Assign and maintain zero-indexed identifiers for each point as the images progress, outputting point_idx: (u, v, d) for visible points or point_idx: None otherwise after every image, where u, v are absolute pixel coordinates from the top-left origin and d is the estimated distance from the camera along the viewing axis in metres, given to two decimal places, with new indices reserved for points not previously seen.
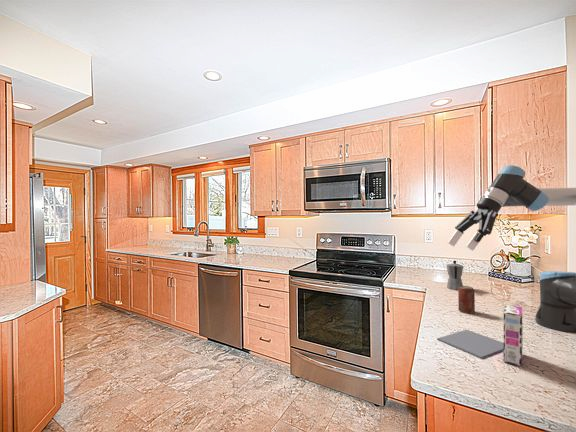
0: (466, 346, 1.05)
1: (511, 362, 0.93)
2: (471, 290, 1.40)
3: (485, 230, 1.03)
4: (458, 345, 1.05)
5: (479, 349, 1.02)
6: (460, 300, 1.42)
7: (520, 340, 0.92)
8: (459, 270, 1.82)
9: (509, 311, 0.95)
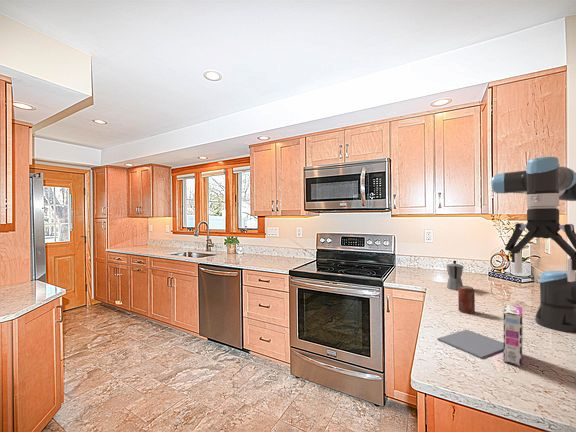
0: (466, 346, 1.05)
1: (511, 362, 0.93)
2: (471, 290, 1.40)
3: None
4: (458, 345, 1.05)
5: (479, 349, 1.02)
6: (460, 300, 1.42)
7: (520, 340, 0.92)
8: (459, 270, 1.82)
9: (509, 311, 0.95)
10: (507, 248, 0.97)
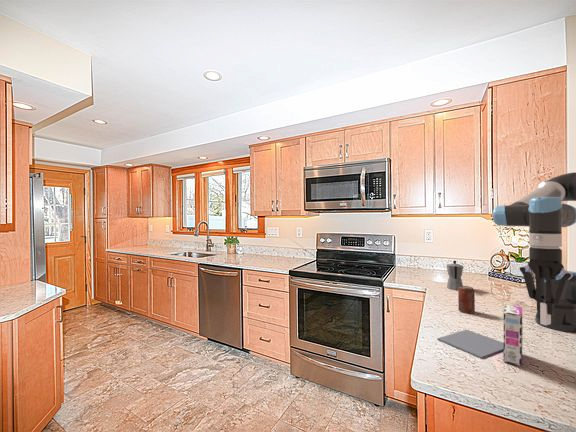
0: (466, 346, 1.05)
1: (511, 362, 0.93)
2: (471, 290, 1.40)
3: (558, 302, 0.85)
4: (458, 345, 1.05)
5: (479, 349, 1.02)
6: (460, 300, 1.42)
7: (520, 340, 0.92)
8: (459, 270, 1.82)
9: (509, 311, 0.95)
10: (531, 295, 0.91)
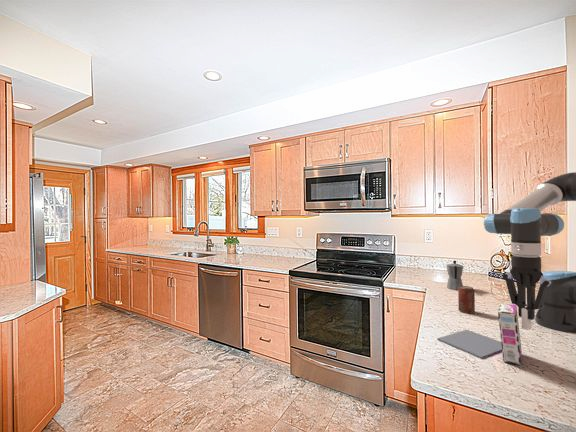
0: (466, 346, 1.05)
1: (511, 361, 0.93)
2: (471, 290, 1.40)
3: (538, 308, 0.90)
4: (458, 345, 1.05)
5: (479, 349, 1.02)
6: (460, 300, 1.42)
7: (517, 338, 0.92)
8: (459, 270, 1.82)
9: (503, 310, 0.96)
10: (513, 301, 0.96)
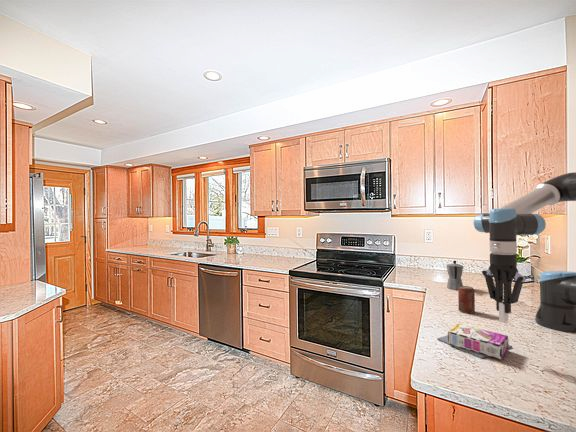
0: None
1: (499, 352, 0.95)
2: (471, 290, 1.40)
3: (513, 302, 0.96)
4: None
5: None
6: (460, 300, 1.42)
7: (472, 338, 1.01)
8: (459, 270, 1.82)
9: None
10: (492, 296, 1.02)
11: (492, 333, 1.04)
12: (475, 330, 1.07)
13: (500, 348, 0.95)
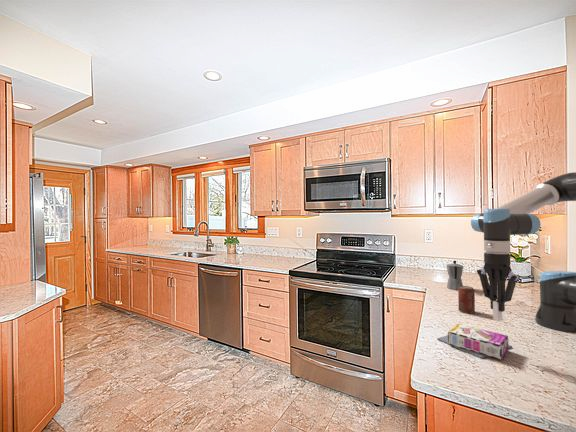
0: None
1: (499, 353, 0.95)
2: (471, 290, 1.40)
3: (507, 300, 0.98)
4: None
5: None
6: (460, 300, 1.42)
7: (472, 339, 1.01)
8: (459, 270, 1.82)
9: None
10: (486, 295, 1.03)
11: (492, 333, 1.04)
12: (475, 330, 1.07)
13: (500, 348, 0.95)
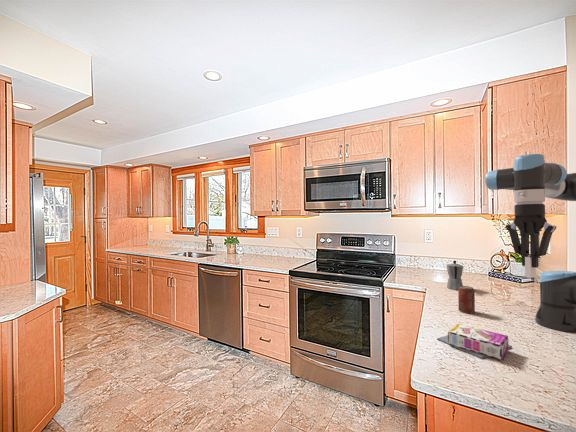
0: None
1: (499, 353, 0.95)
2: (471, 290, 1.40)
3: (542, 254, 0.89)
4: None
5: None
6: (460, 300, 1.42)
7: (472, 339, 1.01)
8: (459, 270, 1.82)
9: None
10: (517, 251, 0.95)
11: (492, 333, 1.04)
12: (475, 330, 1.07)
13: (500, 348, 0.95)
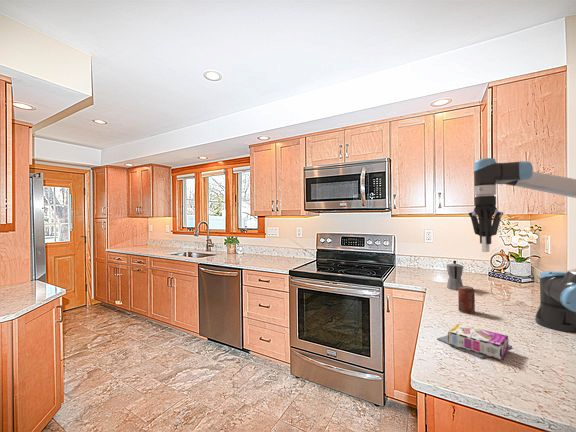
0: None
1: (499, 353, 0.95)
2: (471, 290, 1.40)
3: (493, 234, 1.18)
4: None
5: None
6: (460, 300, 1.42)
7: (472, 339, 1.01)
8: (459, 270, 1.82)
9: None
10: (476, 232, 1.24)
11: (492, 333, 1.04)
12: (475, 330, 1.07)
13: (500, 348, 0.95)
